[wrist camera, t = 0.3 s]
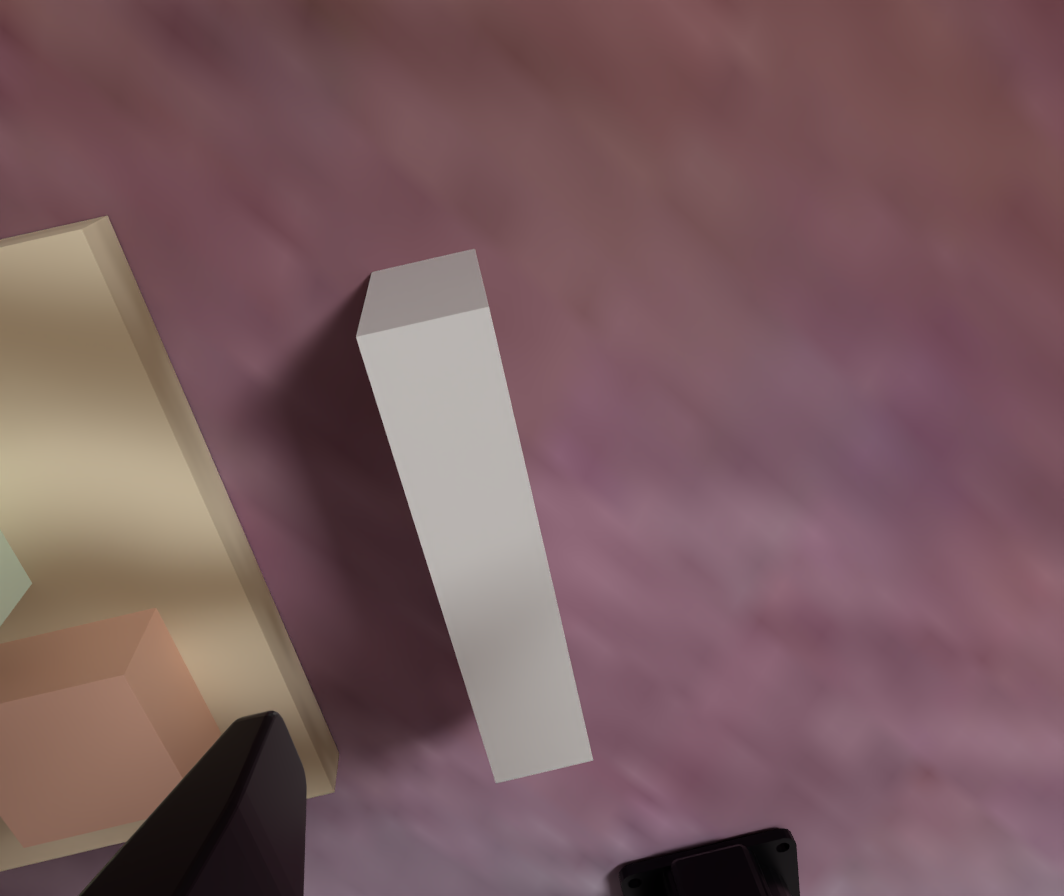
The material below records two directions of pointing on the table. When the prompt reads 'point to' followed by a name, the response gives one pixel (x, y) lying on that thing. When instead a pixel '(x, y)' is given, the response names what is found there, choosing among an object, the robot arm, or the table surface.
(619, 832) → the table surface
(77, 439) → the board
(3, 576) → the tile
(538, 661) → the long grey plank
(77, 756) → the tile
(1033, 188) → the table surface
